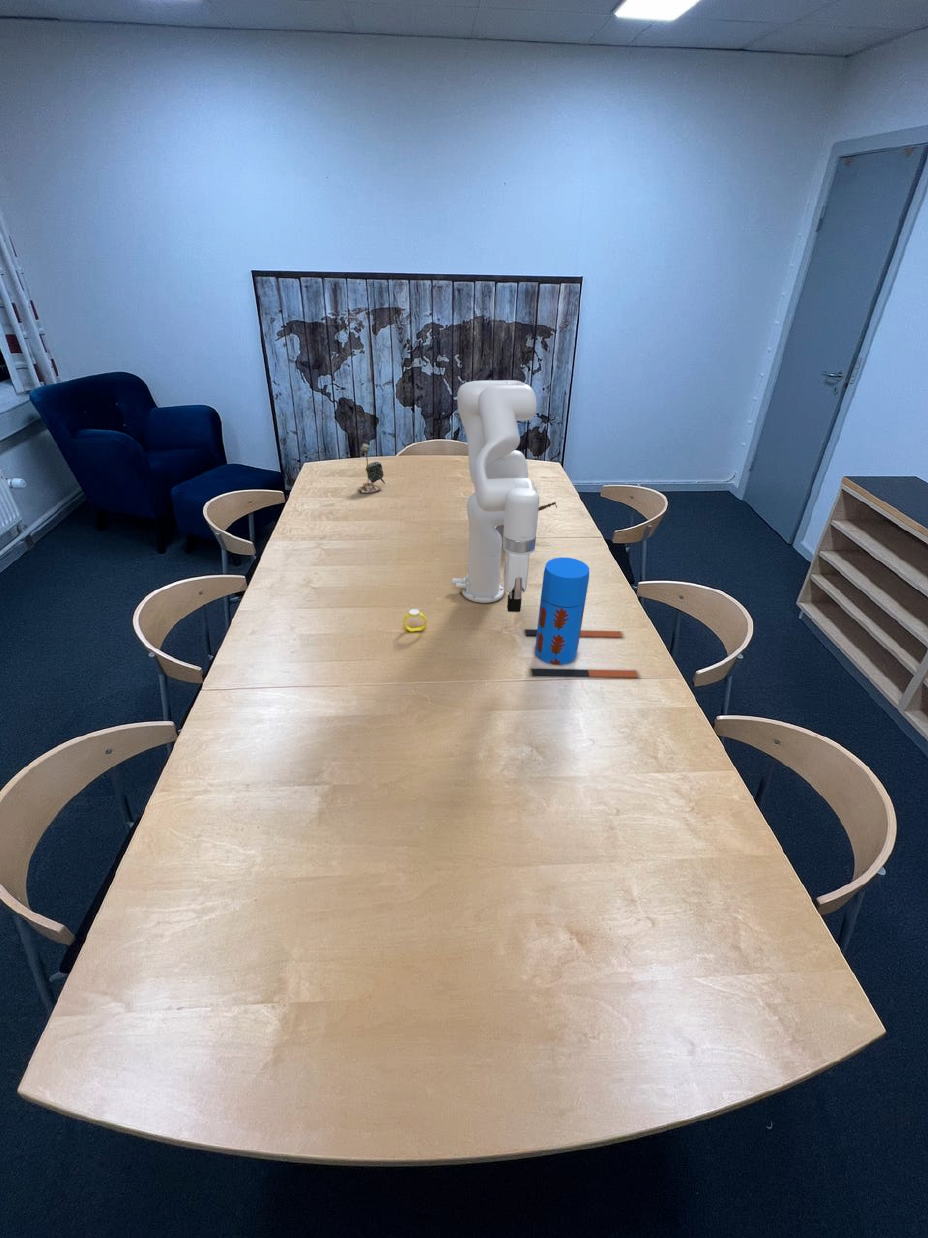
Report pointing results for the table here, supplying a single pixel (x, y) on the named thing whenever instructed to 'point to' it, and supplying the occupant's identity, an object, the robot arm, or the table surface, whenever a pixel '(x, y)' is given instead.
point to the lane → (585, 672)
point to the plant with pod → (371, 473)
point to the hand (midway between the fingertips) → (513, 610)
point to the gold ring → (414, 613)
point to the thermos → (561, 610)
